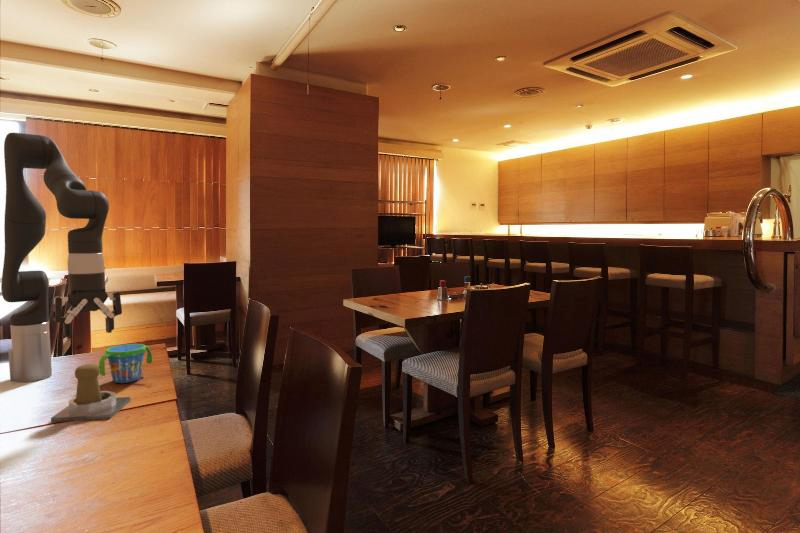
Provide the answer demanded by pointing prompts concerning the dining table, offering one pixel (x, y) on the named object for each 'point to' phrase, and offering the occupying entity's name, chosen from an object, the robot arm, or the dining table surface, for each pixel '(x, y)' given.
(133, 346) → the snack cup
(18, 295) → the robot arm
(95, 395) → the cork
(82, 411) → the hub
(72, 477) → the dining table surface
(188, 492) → the dining table surface
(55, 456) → the dining table surface
